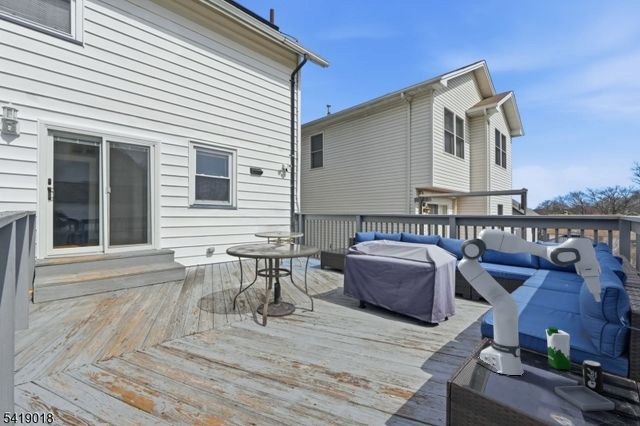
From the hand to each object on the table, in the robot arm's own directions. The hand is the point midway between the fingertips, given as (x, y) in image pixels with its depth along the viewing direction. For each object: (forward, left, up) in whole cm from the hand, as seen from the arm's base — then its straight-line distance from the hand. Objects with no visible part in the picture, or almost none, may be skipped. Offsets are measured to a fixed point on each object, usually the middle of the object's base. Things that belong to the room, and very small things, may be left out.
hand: (597, 299), depth 141 cm
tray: (+1, -22, -40) cm, 46 cm away
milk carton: (-20, +6, -41) cm, 46 cm away
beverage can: (-1, -7, -41) cm, 41 cm away
